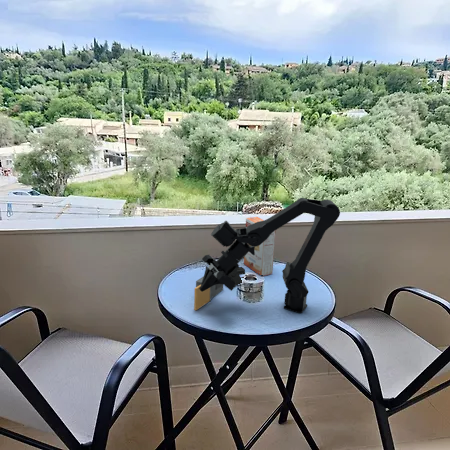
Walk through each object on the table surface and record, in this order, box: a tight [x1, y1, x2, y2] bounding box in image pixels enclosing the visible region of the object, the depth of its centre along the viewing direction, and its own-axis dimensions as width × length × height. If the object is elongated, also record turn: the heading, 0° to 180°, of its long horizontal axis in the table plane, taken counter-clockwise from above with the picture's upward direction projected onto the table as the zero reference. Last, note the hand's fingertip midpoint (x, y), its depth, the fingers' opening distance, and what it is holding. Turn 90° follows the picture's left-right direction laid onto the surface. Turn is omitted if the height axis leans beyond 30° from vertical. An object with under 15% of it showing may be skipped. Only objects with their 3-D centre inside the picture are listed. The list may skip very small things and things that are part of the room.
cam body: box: [195, 275, 224, 299], centre depth 154 cm, size 6×10×7 cm, turn 150°
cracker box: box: [243, 216, 277, 277], centre depth 174 cm, size 14×6×21 cm, turn 28°
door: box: [193, 285, 212, 311], centre depth 145 cm, size 9×1×8 cm, turn 148°
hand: (200, 290), depth 140 cm, fingers closed
